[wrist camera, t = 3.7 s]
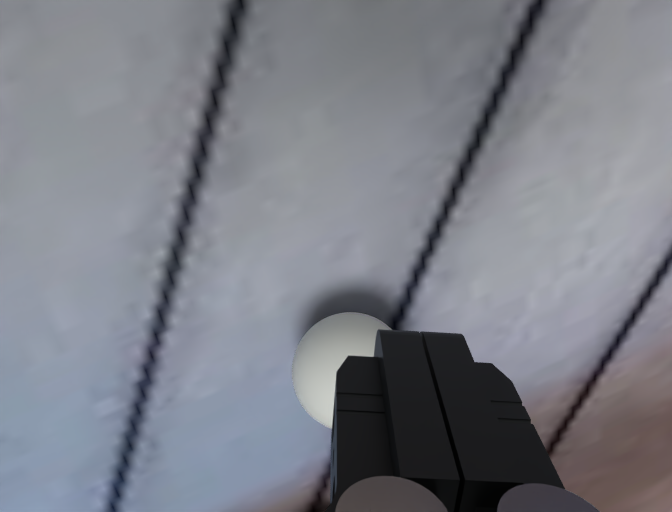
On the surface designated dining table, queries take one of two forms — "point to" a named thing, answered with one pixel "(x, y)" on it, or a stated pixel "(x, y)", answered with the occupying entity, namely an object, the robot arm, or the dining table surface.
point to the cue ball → (330, 358)
